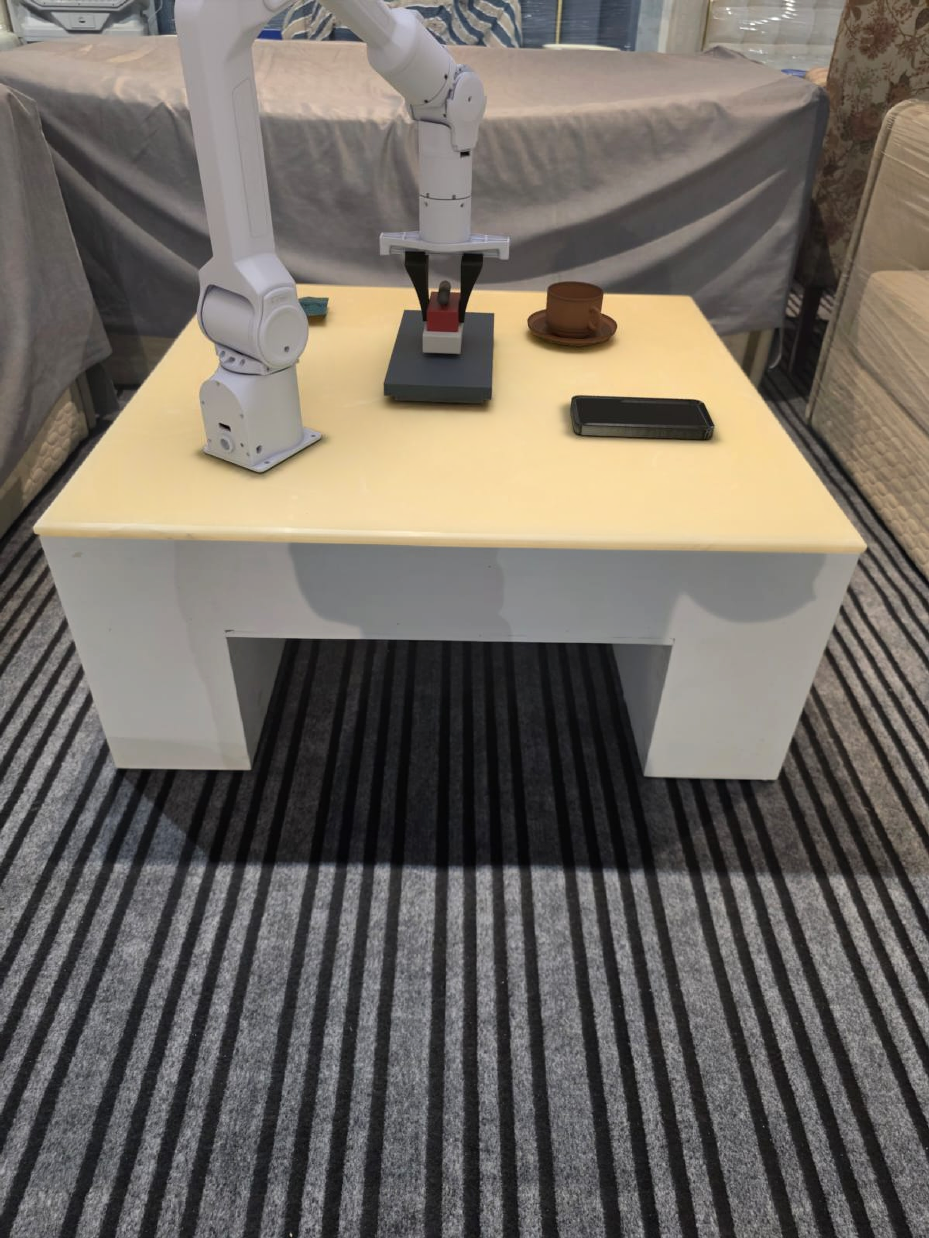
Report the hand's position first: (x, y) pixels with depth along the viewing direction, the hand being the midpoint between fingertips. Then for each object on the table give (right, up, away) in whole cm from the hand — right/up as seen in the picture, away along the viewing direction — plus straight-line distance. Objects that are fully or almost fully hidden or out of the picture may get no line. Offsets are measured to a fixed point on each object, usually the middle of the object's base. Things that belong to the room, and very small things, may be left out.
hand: (444, 319), depth 99 cm
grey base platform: (0, -5, +4) cm, 6 cm away
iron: (0, -2, +1) cm, 2 cm away
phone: (+22, -14, -7) cm, 27 cm away
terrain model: (-23, +6, +16) cm, 29 cm away
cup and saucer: (+17, +2, +13) cm, 22 cm away
